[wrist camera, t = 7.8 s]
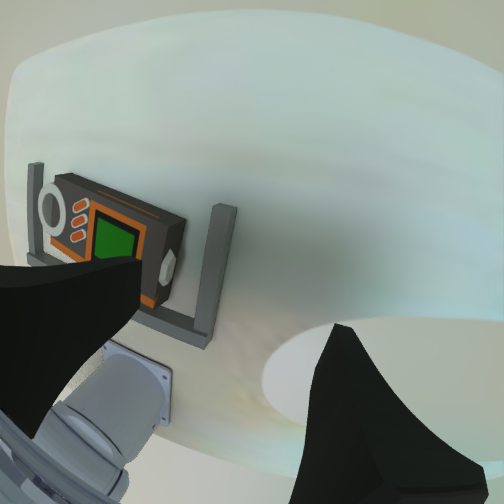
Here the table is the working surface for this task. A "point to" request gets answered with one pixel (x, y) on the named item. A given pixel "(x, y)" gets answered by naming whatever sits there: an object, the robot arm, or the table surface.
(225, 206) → the dock
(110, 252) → the electronic device
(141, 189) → the table surface
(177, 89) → the table surface
